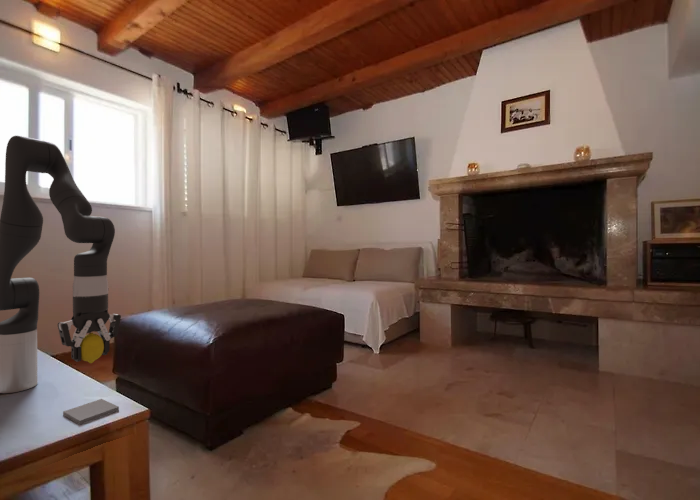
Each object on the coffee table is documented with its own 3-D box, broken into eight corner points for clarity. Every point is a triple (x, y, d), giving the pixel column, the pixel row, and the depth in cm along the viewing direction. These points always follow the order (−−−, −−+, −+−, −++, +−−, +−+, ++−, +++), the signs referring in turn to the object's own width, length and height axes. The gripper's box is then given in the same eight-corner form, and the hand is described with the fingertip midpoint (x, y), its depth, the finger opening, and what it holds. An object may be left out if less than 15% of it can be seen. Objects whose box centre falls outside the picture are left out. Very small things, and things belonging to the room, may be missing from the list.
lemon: (99, 358, 99) (99, 329, 99) (106, 363, 95) (106, 332, 95) (75, 363, 95) (74, 332, 94) (81, 368, 91) (81, 336, 91)
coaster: (63, 415, 94) (63, 411, 94) (101, 402, 101) (101, 398, 101) (79, 424, 89) (79, 420, 89) (118, 410, 97) (118, 406, 97)
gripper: (113, 288, 103) (113, 348, 103) (50, 295, 90) (51, 362, 91) (127, 291, 99) (127, 353, 99) (64, 297, 86) (64, 368, 87)
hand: (91, 357), depth 95 cm, fingers closed on lemon, 5 cm apart
